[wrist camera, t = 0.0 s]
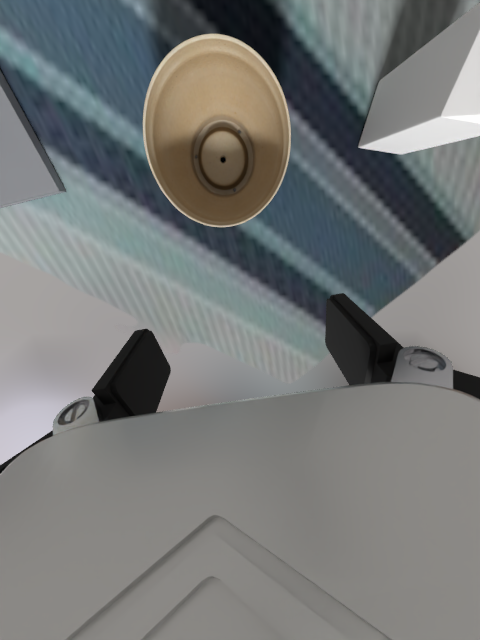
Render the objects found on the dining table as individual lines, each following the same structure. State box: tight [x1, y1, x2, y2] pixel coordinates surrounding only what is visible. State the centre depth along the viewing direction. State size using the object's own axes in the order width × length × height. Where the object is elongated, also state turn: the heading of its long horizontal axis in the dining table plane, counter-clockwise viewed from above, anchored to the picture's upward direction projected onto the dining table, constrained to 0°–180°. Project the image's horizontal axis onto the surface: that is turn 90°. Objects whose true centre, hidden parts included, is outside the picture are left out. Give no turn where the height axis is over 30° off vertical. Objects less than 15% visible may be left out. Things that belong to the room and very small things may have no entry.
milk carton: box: [358, 2, 480, 154], centre depth 22 cm, size 7×7×19 cm
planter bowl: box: [143, 34, 291, 227], centre depth 27 cm, size 16×16×11 cm
